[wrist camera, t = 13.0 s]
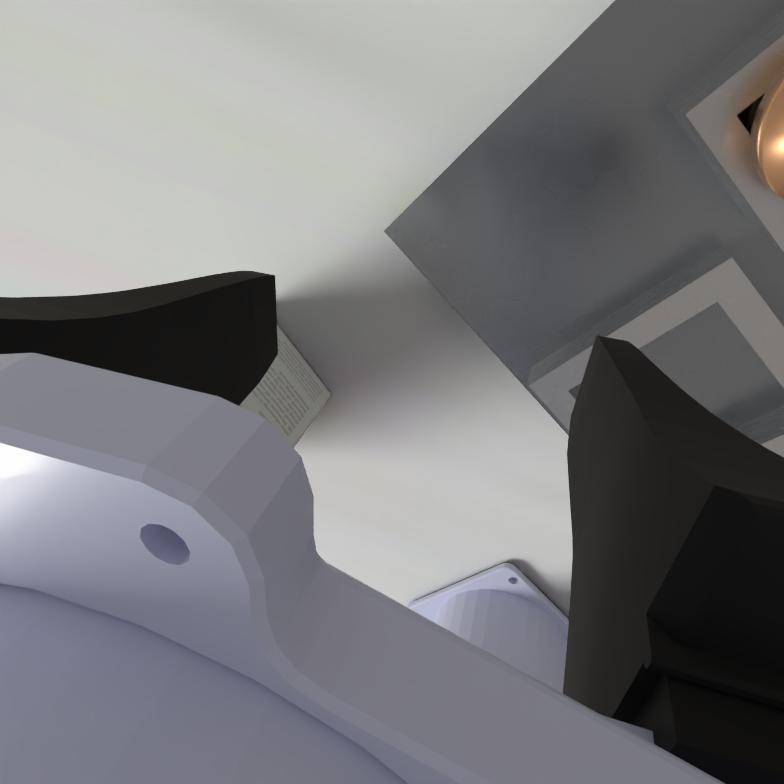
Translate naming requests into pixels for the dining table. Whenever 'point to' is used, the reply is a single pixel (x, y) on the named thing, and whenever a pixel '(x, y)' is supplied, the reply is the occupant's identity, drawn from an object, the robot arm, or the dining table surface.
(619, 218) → the housing
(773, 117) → the plunger
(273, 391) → the small box
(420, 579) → the dining table surface
